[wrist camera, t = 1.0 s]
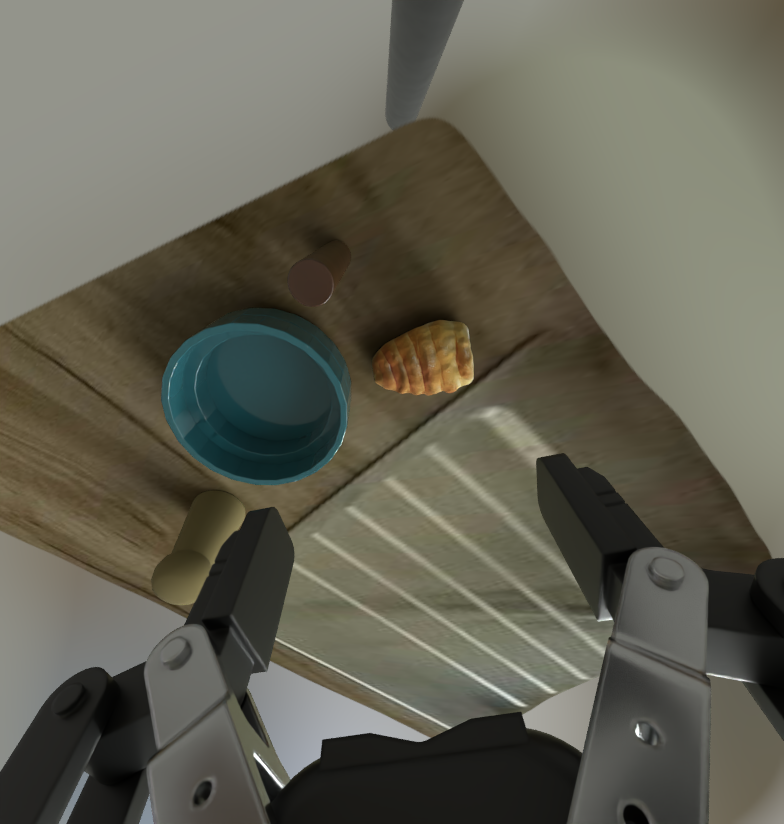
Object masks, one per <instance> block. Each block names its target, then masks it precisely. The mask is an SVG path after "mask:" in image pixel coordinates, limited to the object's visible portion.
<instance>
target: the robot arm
mask: <svg viewBox="0 0 784 824" xmlns="http://www.w3.org/2000/svg"><path fill="white" fill-rule="evenodd" d="M536 469H537V492H538V503H539V507H540V511H541V514H542V516H543V518H544V520H545V522H546V524H547V526H548V528H549V530H550V532H551V534H552V536H553V537H554V539H555V541H556V543H557V545H558V547H559V549H560V551H561V553H562V554H563V556H564V558H565V560H566V562H567V564H568V566H569V568H570V569H571V571H572V573H573V575H574V577H575V579H576V581H577V583H578V585H579V586H580V588H581V590H582V592H583V594H584V596H585V598H586V600H587V602H588V603H589V605H590V607H591V609H592V611H593V613H594V615H595V617H596V618H597V620H598V621H603V620H609V619H613V620H614V626H613V631H612V635H611V637H609V640H608V643H607V647H606V651H605V655H604V660H603V664H602V669H601V673H600V678H599V682H598V687H597V691H596V696H595V700H594V705H593V709H592V714H591V718H590V722H589V727H588V731H587V736H586V740H585V745H584V750H583V753H581V752H580V751H579V750H577V749H576V748H574V747H573V746H571V745H569V744H568V743H566V742H564V741H562V740H561V739H558V738H556V737H554V736H552V735H550V734H547V733H544V732H541V731H537V730H532V729H527V728H526V727H525V723H524V720H523V717H522V713H521V712H516V713H509V714H502V715H495V716H487V717H480V718H473V719H470V720H468V721H465V722H463V723H461V724H459V725H457V726H455V727H453V728H451V729H449V730H447V731H445V732H443V733H441V734H439V735H437V736H434V737H432V738H430V739H428V740H427V741H423V742H414V741H409V740H403V739H398V738H392V737H387V736H382V735H377V734H372V733H367V734H360V735H353V736H346V737H339V738H331V739H324V740H322V748H321V757H320V759H318V760H316V761H314V762H313V763H311V764H310V765H308V766H307V767H305V768H304V769H303V770H301V771H300V772H299V773H298V774H297V775H295V776H294V777H293V778H292V779H291V780H290V778H289V776H288V774H287V773H286V771H285V769H284V767H283V766H282V764H281V762H280V760H279V758H278V756H277V754H276V752H275V749H274V747H273V745H272V742H271V740H270V738H269V735H268V733H267V731H266V728H265V726H264V724H263V721H262V719H261V716H260V714H259V712H258V709H257V707H256V705H255V702H254V700H253V698H252V695H251V693H250V691H249V689H248V688H247V686H248V682H249V679H250V675H251V674H253V673H259V672H265V671H267V670H268V665H269V662H270V658H271V653H272V649H273V645H274V641H275V637H276V633H277V629H278V625H279V621H280V617H281V612H282V608H283V604H284V600H285V596H286V592H287V588H288V584H289V580H290V575H291V571H292V567H293V563H294V547H293V543H292V540H291V538H290V536H289V534H288V532H287V530H286V527H285V525H284V523H283V521H282V519H281V517H280V515H279V512H278V510H277V509H276V508H275V507H270V508H265V509H260V510H254V511H250V512H248V514H247V515H246V517H245V520H244V522H243V524H242V527H241V529H240V530H238V531H234V532H233V533H232V534H231V535H230V537H229V538H228V539H227V540H226V541H225V542H224V543H223V545H222V546H221V548H220V550H219V552H218V554H217V556H216V558H215V564H213V565H212V567H211V569H210V571H209V576H208V577H207V578H206V580H205V582H204V584H203V586H202V588H201V590H200V593H199V595H198V597H197V599H196V601H195V603H194V605H193V607H192V610H191V612H190V614H189V616H188V618H187V620H186V623H185V624H184V626H182V627H180V628H177V629H176V630H174V631H172V632H171V633H169V634H168V635H167V636H166V637H164V639H162V640H161V641H160V642H159V643H158V644H157V645H156V647H155V648H154V649H153V651H152V652H151V654H150V655H149V658H148V659H147V661H146V662H144V663H142V664H139V665H137V666H135V667H133V668H131V669H129V670H127V671H124V672H122V673H120V674H118V675H116V676H114V677H111V676H110V675H109V674H108V673H107V672H106V671H105V670H104V669H102V668H100V667H93V668H89V669H85V670H83V671H81V672H79V673H77V674H75V675H74V676H72V677H71V678H69V679H68V680H67V681H65V682H64V683H63V684H62V685H60V687H58V688H57V689H56V690H55V691H54V692H53V693H52V694H51V695H50V697H49V698H48V699H47V700H46V701H45V703H44V704H43V706H42V707H41V709H40V710H39V712H38V713H37V715H36V717H35V718H34V720H33V722H32V723H31V725H30V726H29V728H28V729H27V731H26V732H25V734H24V735H23V737H22V739H21V740H20V742H19V743H18V745H17V747H16V748H15V750H14V751H13V753H12V754H11V756H10V758H9V759H8V761H7V762H6V764H5V765H4V767H3V769H2V770H1V772H0V824H59V821H60V819H61V817H62V815H63V813H64V811H65V809H66V807H67V805H68V802H69V801H70V799H71V796H72V795H73V792H74V790H75V788H76V786H77V784H78V782H79V780H80V778H81V776H82V774H83V772H84V771H85V772H86V773H88V774H89V777H88V779H87V781H86V783H85V786H84V788H83V790H82V792H81V794H80V796H79V798H78V801H77V802H76V805H75V807H74V809H73V811H72V813H71V815H70V817H69V819H68V822H67V824H139V822H140V819H141V816H142V813H143V810H144V807H145V805H146V802H147V799H148V796H149V794H150V800H151V808H152V815H153V821H154V824H708V821H709V819H708V818H709V773H710V771H709V770H710V726H711V684H710V679H709V678H708V677H707V676H706V674H707V675H712V676H718V677H723V678H729V679H734V680H740V681H742V682H743V684H744V685H745V687H746V688H747V690H748V691H749V693H750V694H751V695H752V697H753V698H754V700H755V701H756V702H757V704H758V705H759V707H760V708H761V710H762V711H763V712H764V714H765V715H766V717H767V718H768V720H769V721H770V722H771V724H772V725H773V727H774V728H775V729H776V731H777V732H778V734H779V735H780V736H781V738H782V739H783V741H784V558H776V559H770V560H767V561H764V562H762V563H761V564H760V565H759V566H758V567H757V570H756V573H755V575H750V574H741V573H731V572H721V571H713V570H707V569H703V568H700V567H699V566H698V565H697V564H696V563H695V562H694V561H692V560H691V559H689V558H688V557H686V556H684V555H683V554H680V553H678V552H676V551H673V550H670V549H666V548H664V547H663V546H662V545H661V544H660V542H659V541H658V540H657V539H656V538H655V536H654V535H653V534H652V533H651V532H650V531H649V529H648V528H647V527H646V526H645V525H644V523H643V522H642V521H641V520H640V519H639V517H638V516H637V515H636V514H635V513H634V511H633V510H632V509H631V508H630V507H629V506H628V504H625V501H624V500H623V498H622V497H621V496H620V495H619V494H618V493H616V491H615V489H614V488H613V487H612V485H611V484H610V483H609V482H608V481H607V479H606V478H605V477H604V476H602V475H600V474H599V473H597V472H595V471H594V470H592V469H590V468H588V467H584V468H579V469H577V468H576V467H575V466H574V464H573V463H572V462H571V461H570V459H569V458H568V457H567V455H566V454H564V453H561V454H556V455H551V456H546V457H540V458H537V461H536Z"/></svg>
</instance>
